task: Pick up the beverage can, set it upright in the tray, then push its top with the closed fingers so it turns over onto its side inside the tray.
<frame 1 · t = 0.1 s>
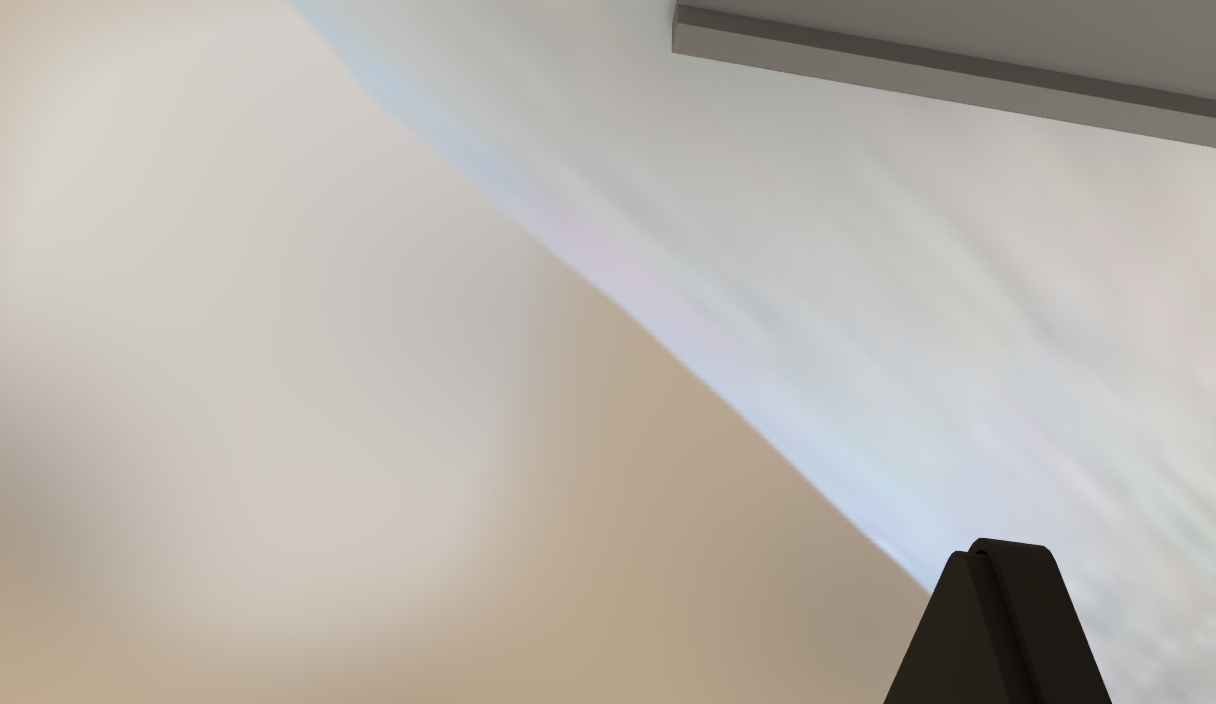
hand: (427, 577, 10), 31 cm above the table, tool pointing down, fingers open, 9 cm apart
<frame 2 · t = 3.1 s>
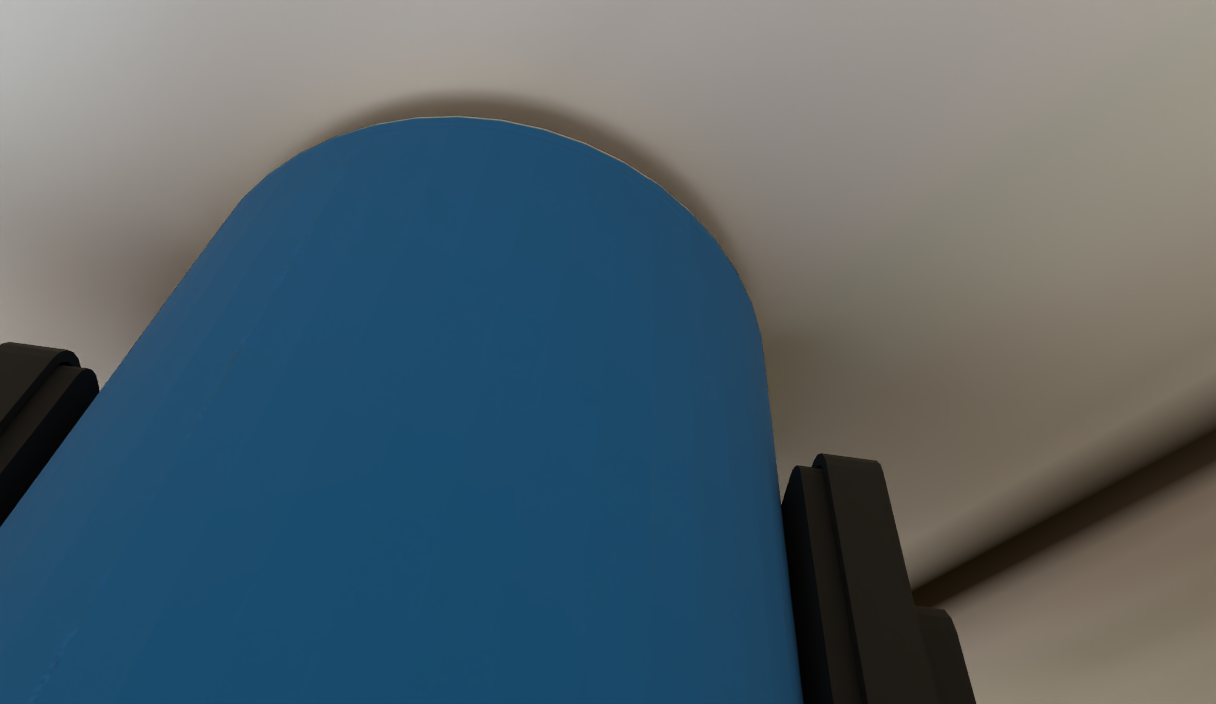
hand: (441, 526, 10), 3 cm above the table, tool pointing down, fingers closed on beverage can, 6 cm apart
beverage can: (491, 335, 13), on the table, touching gripper
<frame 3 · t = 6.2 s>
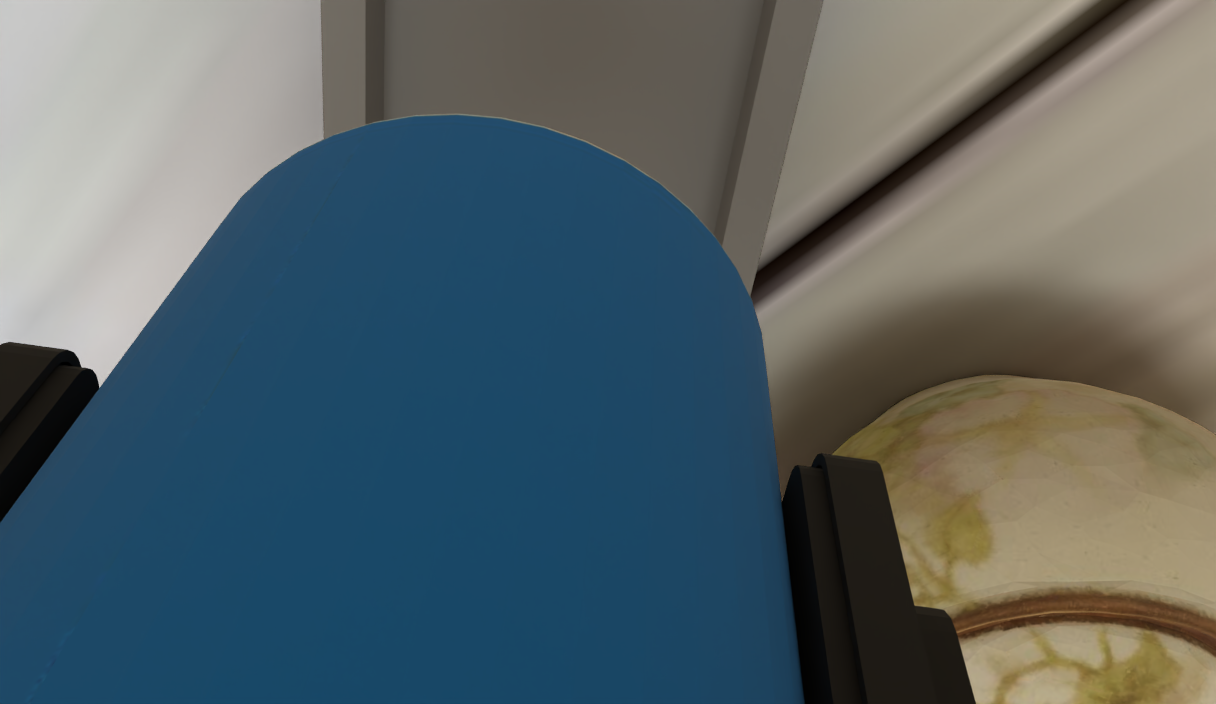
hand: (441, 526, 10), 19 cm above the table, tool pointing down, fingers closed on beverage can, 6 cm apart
tray: (552, 192, 29), on the table
sugar bowl: (963, 474, 35), on the table
beverage can: (491, 333, 13), point 16 cm above the table, touching gripper
when the fingers open (5 cm above the table, at t = 9.3 s): beverage can stays where it is, resting on tray.
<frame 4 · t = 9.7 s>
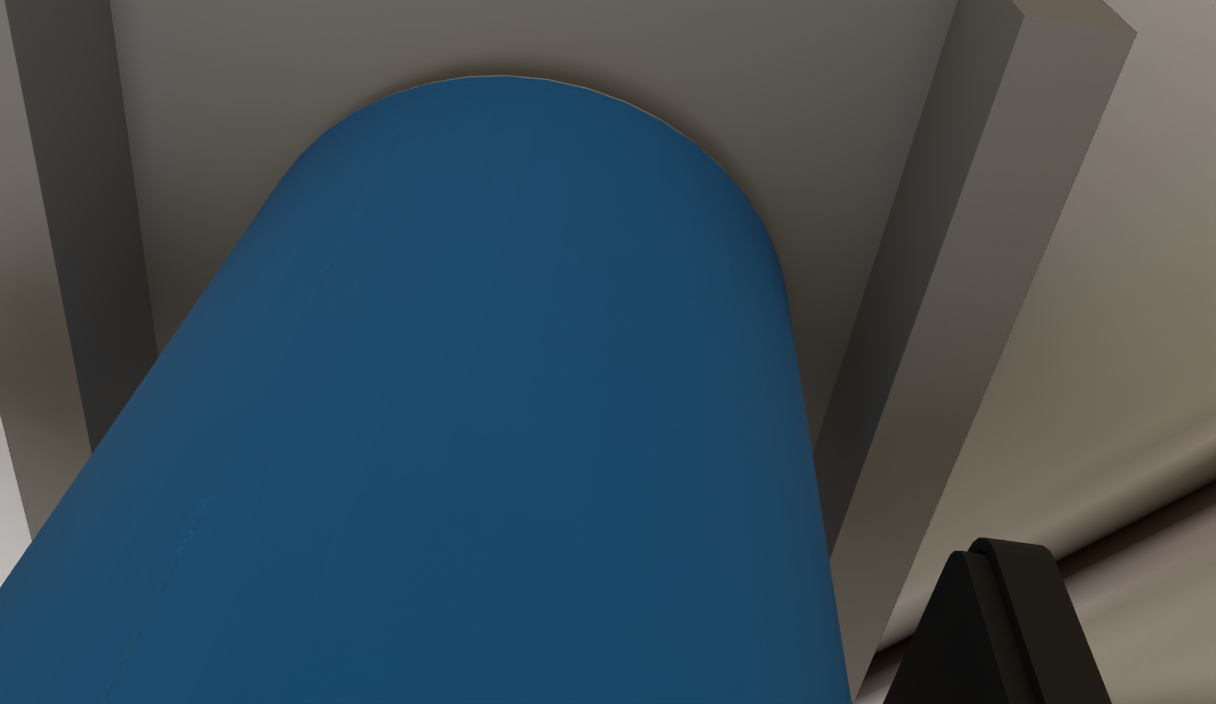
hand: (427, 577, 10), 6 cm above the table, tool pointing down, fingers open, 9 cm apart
tray: (478, 579, 18), on the table
beverage can: (527, 290, 14), point 1 cm above the table, touching tray
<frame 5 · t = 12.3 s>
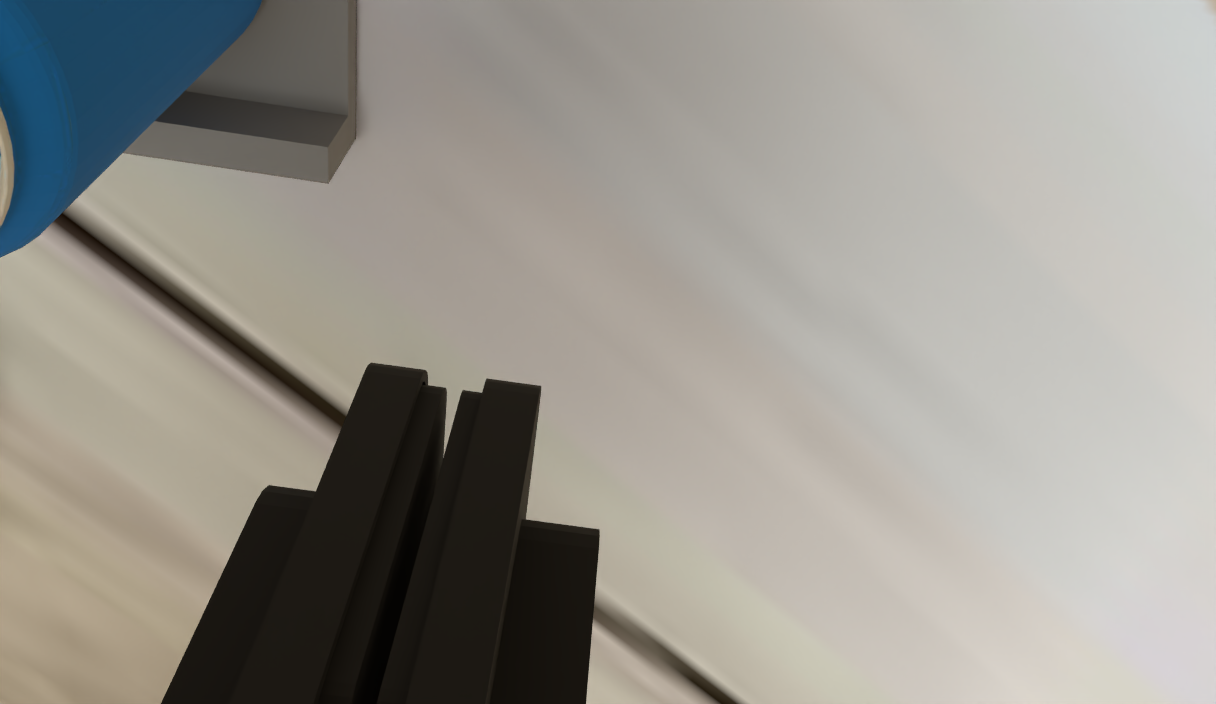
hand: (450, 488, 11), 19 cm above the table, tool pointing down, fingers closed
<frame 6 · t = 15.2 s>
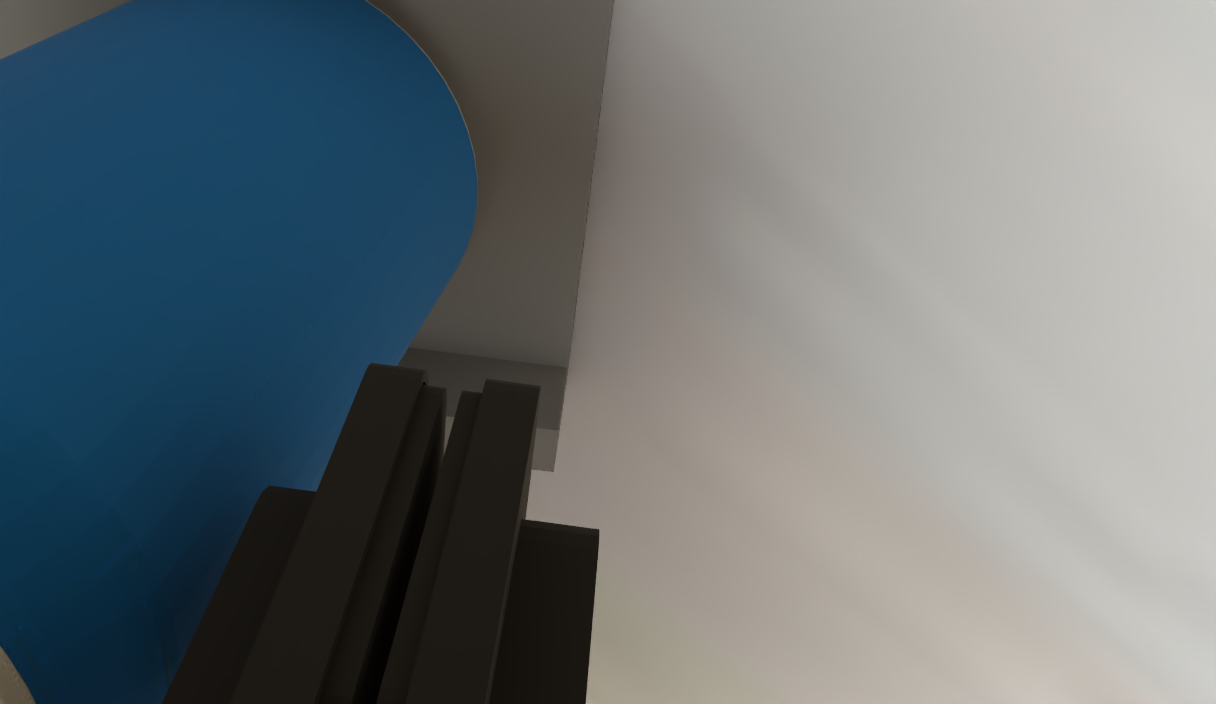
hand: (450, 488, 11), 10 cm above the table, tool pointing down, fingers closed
beverage can: (312, 144, 19), point 1 cm above the table, touching gripper, tray
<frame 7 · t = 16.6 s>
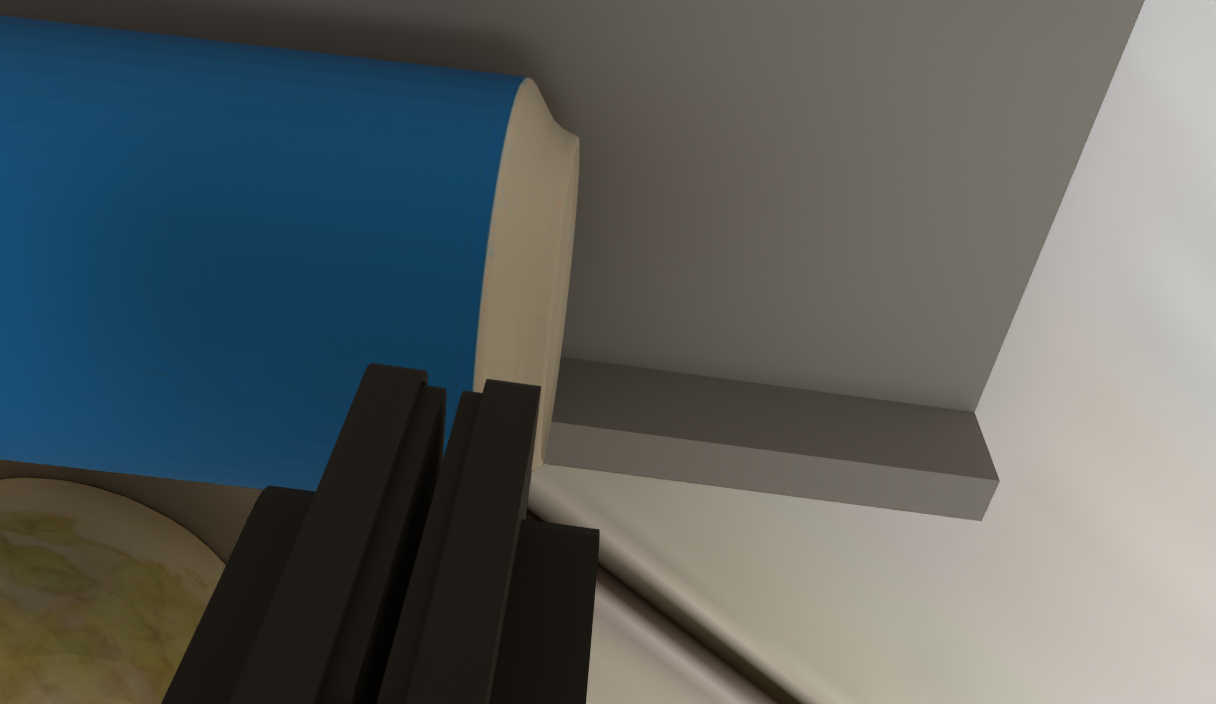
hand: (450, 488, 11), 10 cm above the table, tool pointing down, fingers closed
tray: (426, 99, 19), on the table
sugar bowl: (90, 589, 27), on the table
beverage can: (574, 305, 16), point 4 cm above the table, touching tray
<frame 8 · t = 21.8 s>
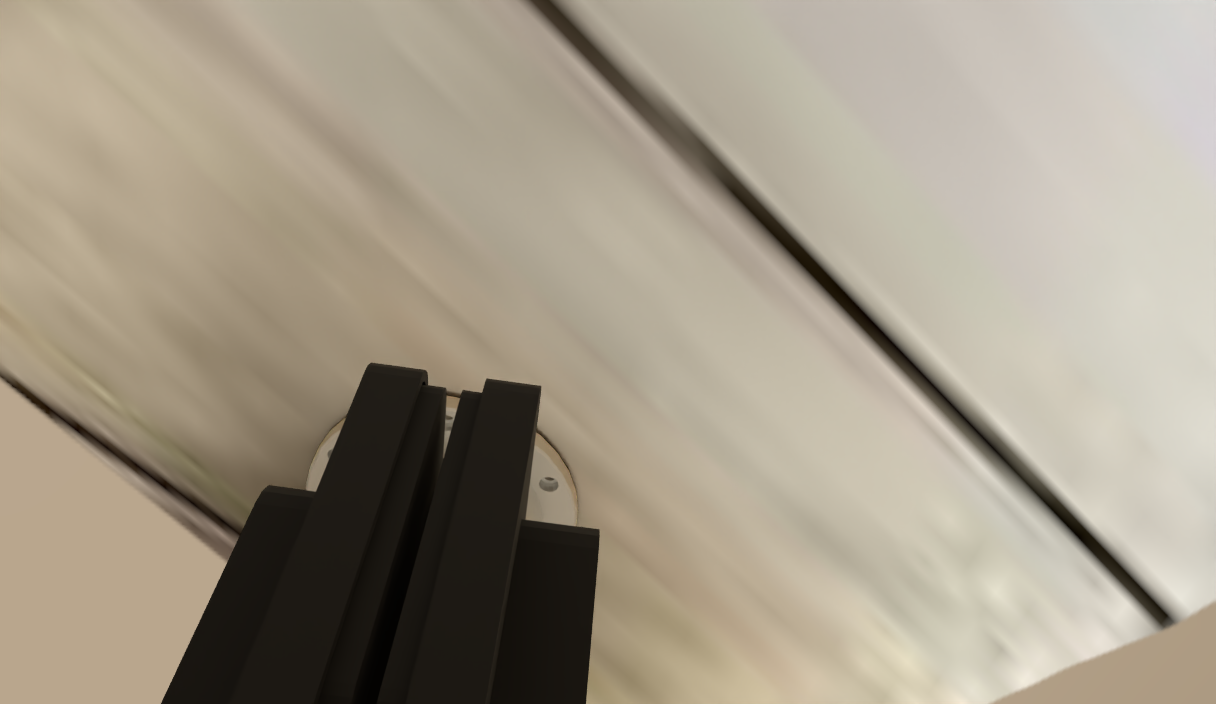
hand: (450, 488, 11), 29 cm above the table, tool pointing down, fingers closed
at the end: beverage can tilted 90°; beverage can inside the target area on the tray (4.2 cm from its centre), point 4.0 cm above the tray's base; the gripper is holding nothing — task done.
